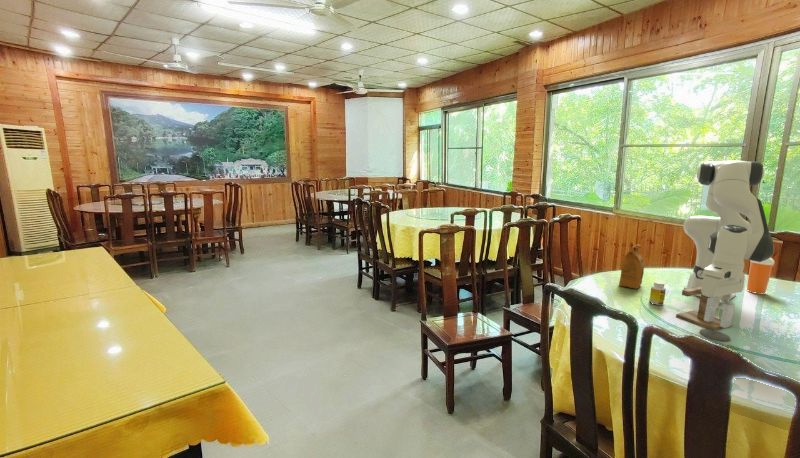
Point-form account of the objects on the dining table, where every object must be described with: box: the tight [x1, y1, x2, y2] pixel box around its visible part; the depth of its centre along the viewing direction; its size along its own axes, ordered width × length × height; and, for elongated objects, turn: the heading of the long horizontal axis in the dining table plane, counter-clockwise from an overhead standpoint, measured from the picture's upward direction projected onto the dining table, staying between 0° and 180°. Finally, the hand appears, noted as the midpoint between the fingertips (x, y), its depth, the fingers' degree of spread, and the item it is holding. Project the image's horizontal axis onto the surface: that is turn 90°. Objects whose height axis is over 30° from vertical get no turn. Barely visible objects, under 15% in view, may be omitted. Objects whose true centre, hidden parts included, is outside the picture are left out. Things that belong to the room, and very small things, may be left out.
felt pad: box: [698, 328, 731, 342], centre depth 146 cm, size 9×9×1 cm
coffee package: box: [618, 243, 645, 289], centre depth 201 cm, size 10×12×22 cm
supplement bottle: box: [648, 280, 667, 306], centre depth 177 cm, size 6×6×10 cm
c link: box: [704, 298, 735, 329], centre depth 145 cm, size 4×7×9 cm, turn 24°
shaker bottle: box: [746, 257, 775, 294], centre depth 197 cm, size 9×9×20 cm
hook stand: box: [675, 287, 732, 331], centre depth 156 cm, size 22×14×16 cm, turn 114°
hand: (720, 305), depth 144 cm, fingers closed on c link, 3 cm apart
